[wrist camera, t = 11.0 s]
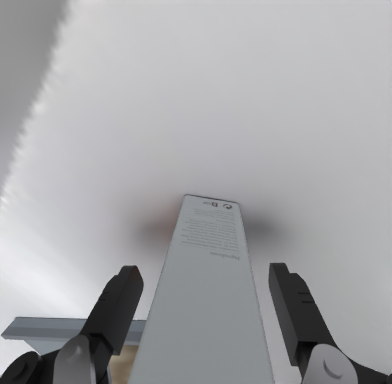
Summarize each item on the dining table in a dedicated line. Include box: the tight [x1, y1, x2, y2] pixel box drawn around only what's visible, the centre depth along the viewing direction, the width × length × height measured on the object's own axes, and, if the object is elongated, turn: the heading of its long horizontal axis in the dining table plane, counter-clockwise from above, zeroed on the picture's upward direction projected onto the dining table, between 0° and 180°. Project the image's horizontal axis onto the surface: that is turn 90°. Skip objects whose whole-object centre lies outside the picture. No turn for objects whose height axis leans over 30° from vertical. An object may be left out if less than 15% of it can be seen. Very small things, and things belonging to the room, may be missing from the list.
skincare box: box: [127, 195, 275, 384], centre depth 10 cm, size 6×4×12 cm
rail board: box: [1, 317, 146, 355], centre depth 26 cm, size 26×15×2 cm, turn 98°
